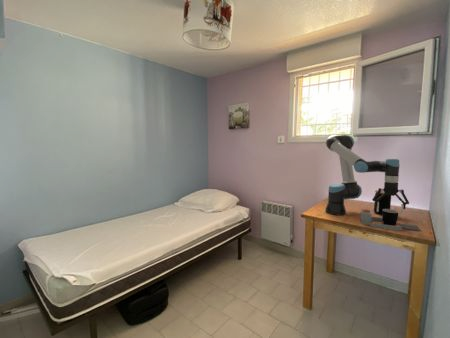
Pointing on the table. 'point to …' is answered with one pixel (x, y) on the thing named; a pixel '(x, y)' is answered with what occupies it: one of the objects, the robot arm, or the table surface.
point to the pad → (409, 227)
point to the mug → (389, 216)
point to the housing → (367, 219)
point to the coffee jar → (382, 203)
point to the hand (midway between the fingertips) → (389, 212)
